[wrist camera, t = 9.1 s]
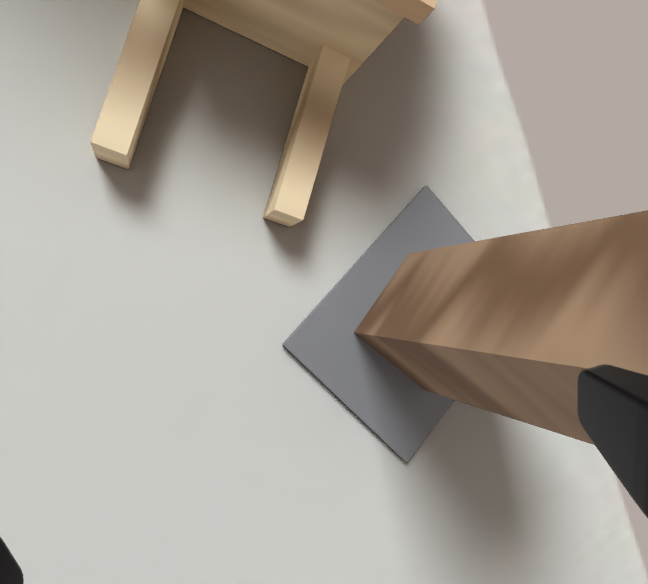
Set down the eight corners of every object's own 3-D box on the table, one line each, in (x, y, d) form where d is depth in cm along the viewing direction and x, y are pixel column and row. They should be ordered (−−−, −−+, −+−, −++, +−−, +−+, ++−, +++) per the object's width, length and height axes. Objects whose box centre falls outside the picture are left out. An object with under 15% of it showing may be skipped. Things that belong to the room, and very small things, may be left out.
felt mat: (403, 460, 23) (407, 462, 23) (282, 344, 21) (284, 345, 21) (523, 303, 25) (527, 303, 25) (423, 186, 24) (427, 185, 23)
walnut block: (424, 390, 23) (714, 483, 11) (353, 332, 22) (593, 369, 10) (474, 312, 24) (788, 324, 12) (408, 253, 23) (685, 203, 11)
